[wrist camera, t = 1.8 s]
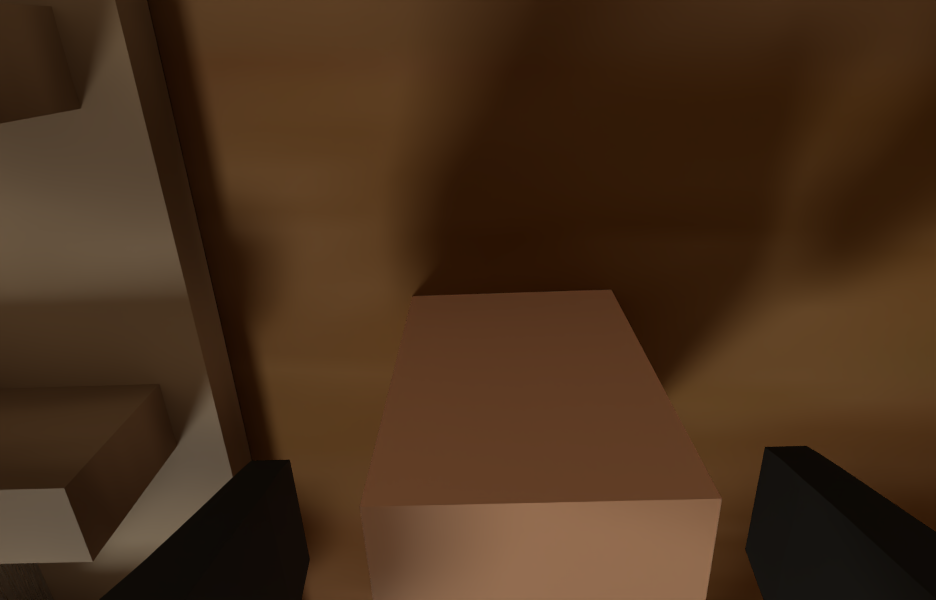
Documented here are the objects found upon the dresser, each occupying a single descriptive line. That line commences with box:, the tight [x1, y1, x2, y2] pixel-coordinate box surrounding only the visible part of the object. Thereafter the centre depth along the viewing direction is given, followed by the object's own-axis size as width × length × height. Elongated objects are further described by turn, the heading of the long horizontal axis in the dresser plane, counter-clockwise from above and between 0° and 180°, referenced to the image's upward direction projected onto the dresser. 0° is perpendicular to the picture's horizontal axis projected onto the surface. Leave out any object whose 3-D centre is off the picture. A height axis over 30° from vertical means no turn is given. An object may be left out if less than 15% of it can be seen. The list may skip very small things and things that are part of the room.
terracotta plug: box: [360, 289, 722, 600], centre depth 10 cm, size 4×4×6 cm
